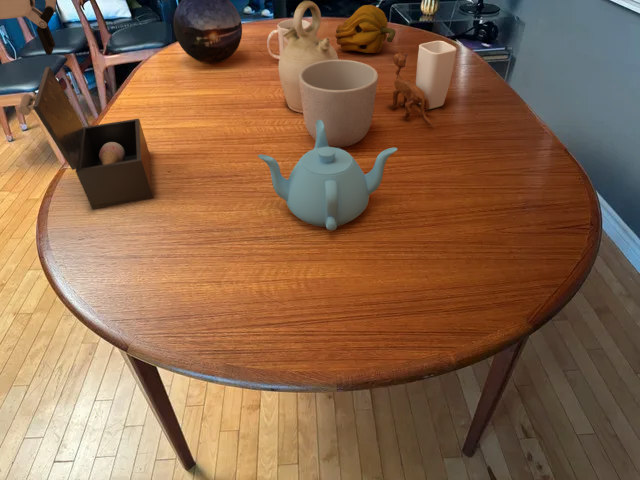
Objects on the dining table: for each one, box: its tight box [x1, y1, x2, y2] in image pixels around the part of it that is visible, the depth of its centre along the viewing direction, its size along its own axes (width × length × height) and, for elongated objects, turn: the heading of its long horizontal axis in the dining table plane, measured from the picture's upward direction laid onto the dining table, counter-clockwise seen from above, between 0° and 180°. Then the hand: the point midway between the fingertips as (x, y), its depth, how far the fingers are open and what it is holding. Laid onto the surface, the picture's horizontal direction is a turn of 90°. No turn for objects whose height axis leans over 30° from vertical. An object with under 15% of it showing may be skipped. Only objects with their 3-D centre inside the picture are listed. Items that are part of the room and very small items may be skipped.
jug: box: [277, 0, 340, 114], centre depth 115 cm, size 15×16×25 cm
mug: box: [266, 18, 311, 60], centre depth 141 cm, size 10×12×11 cm
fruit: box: [334, 4, 396, 54], centre depth 146 cm, size 14×16×20 cm
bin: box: [75, 118, 154, 210], centre depth 95 cm, size 12×18×9 cm, turn 18°
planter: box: [299, 59, 379, 148], centre depth 105 cm, size 17×17×15 cm
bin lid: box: [17, 66, 83, 171], centre depth 86 cm, size 13×18×5 cm
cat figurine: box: [389, 48, 436, 128], centre depth 112 cm, size 18×7×14 cm, turn 27°
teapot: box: [257, 120, 398, 231], centre depth 86 cm, size 17×19×12 cm
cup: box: [415, 40, 457, 110], centre depth 116 cm, size 7×7×15 cm
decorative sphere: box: [173, 0, 243, 64], centre depth 140 cm, size 20×20×20 cm
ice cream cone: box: [99, 142, 125, 165], centre depth 94 cm, size 5×5×15 cm
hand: (17, 55), depth 74 cm, fingers open, 9 cm apart
